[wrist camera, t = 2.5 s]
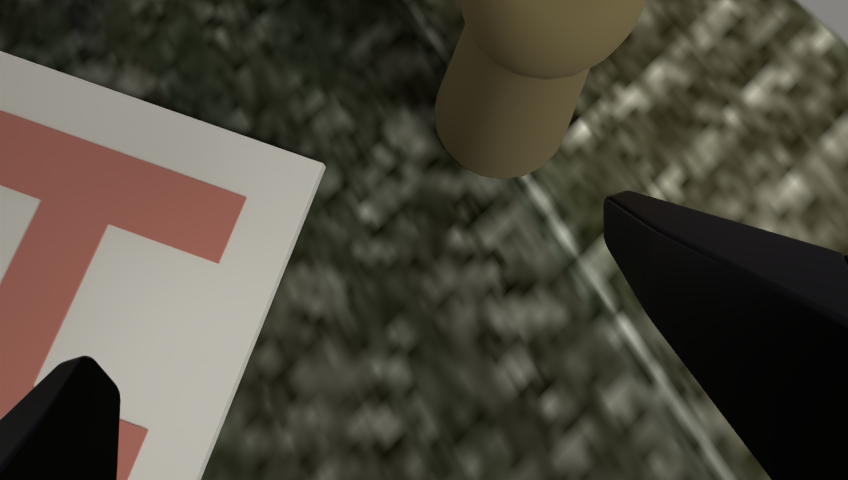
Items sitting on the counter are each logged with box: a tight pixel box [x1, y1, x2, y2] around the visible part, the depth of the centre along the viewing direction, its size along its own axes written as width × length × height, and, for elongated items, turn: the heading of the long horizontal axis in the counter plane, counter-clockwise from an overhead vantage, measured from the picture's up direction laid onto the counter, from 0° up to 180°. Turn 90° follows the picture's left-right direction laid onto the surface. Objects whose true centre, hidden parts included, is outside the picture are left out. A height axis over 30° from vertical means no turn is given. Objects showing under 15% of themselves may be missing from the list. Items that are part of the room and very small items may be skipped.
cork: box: [434, 0, 646, 179], centre depth 19 cm, size 6×6×11 cm
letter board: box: [0, 51, 326, 480], centre depth 22 cm, size 18×18×1 cm
